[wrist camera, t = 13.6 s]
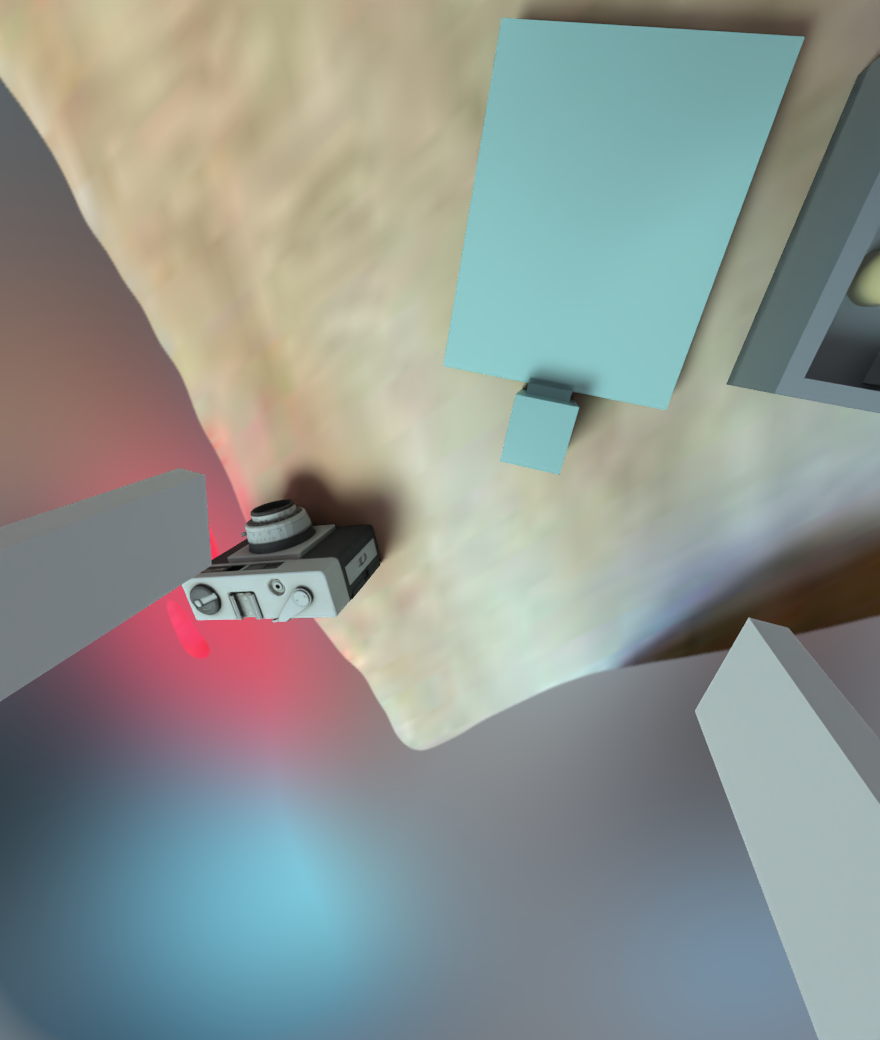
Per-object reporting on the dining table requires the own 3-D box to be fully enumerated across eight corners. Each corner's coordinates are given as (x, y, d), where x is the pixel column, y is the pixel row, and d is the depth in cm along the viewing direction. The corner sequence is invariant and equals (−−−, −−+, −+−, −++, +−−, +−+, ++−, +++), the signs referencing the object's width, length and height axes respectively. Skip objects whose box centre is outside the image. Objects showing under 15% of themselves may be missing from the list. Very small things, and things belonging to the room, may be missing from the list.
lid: (507, 56, 26) (495, -25, 21) (773, 76, 24) (840, -9, 18) (441, 430, 35) (421, 443, 30) (631, 472, 33) (647, 494, 27)
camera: (364, 484, 39) (306, 525, 30) (383, 565, 41) (336, 625, 32) (238, 499, 43) (154, 539, 34) (264, 572, 46) (192, 626, 36)
